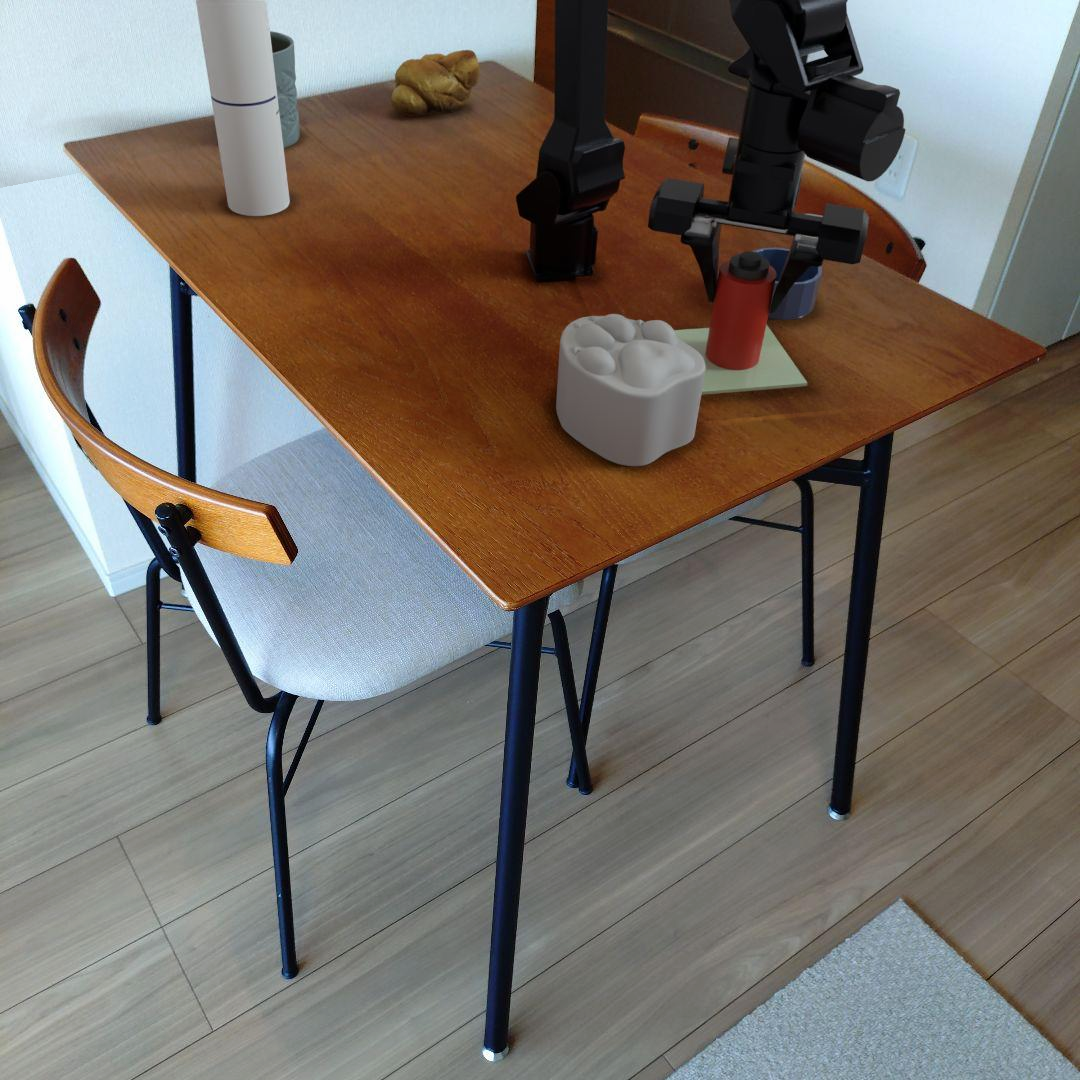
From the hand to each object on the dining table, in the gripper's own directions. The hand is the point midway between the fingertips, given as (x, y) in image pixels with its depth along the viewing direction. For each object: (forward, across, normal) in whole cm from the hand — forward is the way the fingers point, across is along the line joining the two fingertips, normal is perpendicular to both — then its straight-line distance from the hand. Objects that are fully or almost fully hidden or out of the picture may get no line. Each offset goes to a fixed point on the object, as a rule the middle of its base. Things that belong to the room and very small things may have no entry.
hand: (741, 305), depth 101 cm
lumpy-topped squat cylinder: (+6, +8, +13) cm, 17 cm away
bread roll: (+6, +51, -52) cm, 74 cm away
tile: (+6, 0, 0) cm, 6 cm away
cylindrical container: (+6, +59, -16) cm, 61 cm away
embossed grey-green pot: (+7, +67, -34) cm, 76 cm away
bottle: (+5, 0, 0) cm, 5 cm away
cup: (+6, -3, -13) cm, 15 cm away
